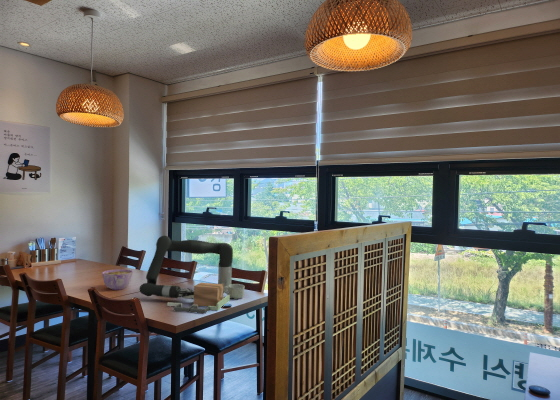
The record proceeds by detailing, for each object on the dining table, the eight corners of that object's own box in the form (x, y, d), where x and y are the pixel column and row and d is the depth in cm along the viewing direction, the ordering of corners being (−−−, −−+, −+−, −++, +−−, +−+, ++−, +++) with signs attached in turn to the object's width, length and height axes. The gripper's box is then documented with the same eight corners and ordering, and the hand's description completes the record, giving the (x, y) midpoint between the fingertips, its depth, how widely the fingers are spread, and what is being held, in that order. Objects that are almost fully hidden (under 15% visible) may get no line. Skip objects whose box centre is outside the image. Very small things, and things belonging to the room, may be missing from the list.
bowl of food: (121, 293, 257) (121, 275, 257) (95, 290, 261) (95, 273, 261) (138, 286, 277) (138, 270, 276) (113, 284, 281) (113, 268, 280)
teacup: (244, 295, 258) (245, 284, 258) (243, 300, 247) (244, 287, 247) (224, 295, 258) (224, 283, 258) (222, 299, 247) (222, 287, 247)
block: (200, 301, 242) (200, 282, 242) (222, 303, 239) (223, 284, 239) (193, 305, 232) (194, 286, 232) (217, 307, 229) (217, 287, 229)
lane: (182, 297, 250) (182, 291, 250) (229, 301, 244) (229, 294, 244) (161, 309, 222) (161, 302, 222) (213, 314, 216) (213, 307, 216)
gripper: (166, 288, 234) (193, 290, 231) (176, 283, 247) (201, 285, 244) (166, 300, 234) (192, 302, 231) (175, 294, 247) (201, 297, 244)
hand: (197, 293), depth 237 cm, fingers closed
